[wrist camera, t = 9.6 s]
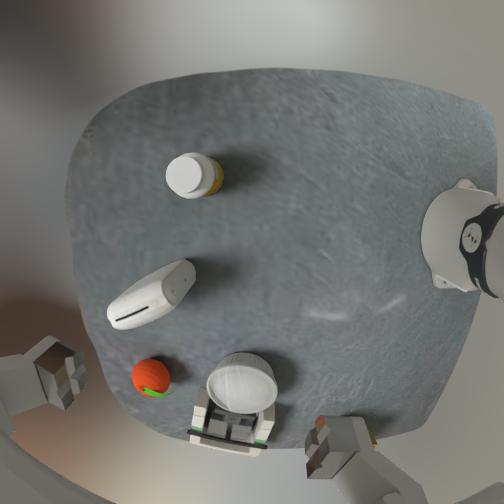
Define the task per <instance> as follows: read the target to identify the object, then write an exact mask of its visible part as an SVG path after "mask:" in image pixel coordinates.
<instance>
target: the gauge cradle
mask: <svg viewBox="0 0 504 504" xmlns="http://www.w3.org/2000/svg"><path fill="white" fill-rule="evenodd" d="M209 399H210V396H209V394H208V392H207V389H205V388H200V391H199V394H198V397H197V400H196V403H195V407H194V414H193V420H192V428H191V431H195V432H199V433H203V434H207V435H211V436H216V437H220V438H225V436H220V435H216V434H211V433H207V432H208V427H206V426H204V424H205V419H206V414H207V409H208V404H209ZM274 423H275V403H273V404H272V405H271V406H270V407H268V408H267V409H265V410H263V411H260V414H259V416H258V419H257V421H256V424H255V426H254V428H253V431H252V433H251V436H250V435H249V436H248V439H247V441H246V440H241V439H235V438H231V439H230V440H235V441H241V442H247V443H253V444H260V445H264V444H265V442H266V440H267V438H268V436H269V434H270V432H271V429H272V427H273V425H274ZM190 443H192V444H195V445H199V446H203V447H207V448H212V449H216V450H221V451H226V452H232V453H237V454H243V455H249V456H256V457H257V456H258V455H259V453H260V451H261V449H259V448H252V447H246V446H240V445H234V444H229V443H224V442H219V441H215V440H210V439H206V438H202V437H198V436H194V435H191V436H190Z"/></svg>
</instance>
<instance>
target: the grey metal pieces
mask: <svg viewBox="0 0 504 504" xmlns="http://www.w3.org/2000/svg"><path fill="white" fill-rule="evenodd" d="M255 418H256V413H251V414H240V413H234V412H231V411H228V410H225V409H223V408H221V407H220V406H218V405H217V404H216V408H215V409H213V410H212V414H211V418H210V422H209V427H208V432H207V433H211V434H216V435H220V436H225V438H220V437H216V436H211V435H207V434H203V433H199V432H195V431H191V430H188V432H187V434H190V435H194V436H198V437H202V438H206V439H210V440H215V441H219V442H224V443H229V444H234V445H240V446H246V447H252V448H259V449H267V445H260V444H253V443H247V442H241V441H235V440H230V439H231V438H235V439H241V440H246V441H247V439H248V436H249V434H250V432H251V429H252V425H253V420H255Z"/></svg>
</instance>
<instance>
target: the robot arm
mask: <svg viewBox="0 0 504 504" xmlns="http://www.w3.org/2000/svg"><path fill="white" fill-rule="evenodd" d="M421 243H422V250H423V254H424V257H425V259H426V261H427V263H428V265H429V267H430V269H431V271H432V279H433V284H434V286H436V287H438V288H458V289H460V290H462V291H464V292H467V291H474V290H481V291H482V292H483V293H485V294H486V295H490V296H492V297H494V298H501V299H502V300H504V204H503V203H501V202H499V198H498V197H496V196H494V194H493V193H491V192H488V191H483V190H479V189H478V188H477V187H476V186H475V185H474V184H473V183H472V182H471V181H470V180H468V179H465V178H462V179H461V180H460V181H459V182H458V183H457V184H456V185H455V186H454V187H453V188H451V189H449V190H446V191H444V192H442V193H441V194H439V195H438V196H437V197H436V198H435V199H434V200H433V202H432V203H431V204H430V206H429V208H428V210H427V212H426V215H425V217H424V221H423V225H422V232H421ZM444 281H445V282H444ZM83 362H84V355H83V353H82V352H80V351H78V350H76V349H74V348H73V347H71V346H69V345H67V344H65V343H63V342H61V341H59V340H58V339H56V338H54V337H52V336H47V337H46V338H44V339H43V340H42V341H41V342H39V343H38V344H37V345H36V346H35V347H33V348H32V349H31V350H29V351H28V352H27V353H26V354H25V355H23V356H22V355H21V354H19V355H13V356H7V357H1V358H0V504H115V503H113V502H111V501H109V500H106V499H104V498H102V497H100V496H98V495H96V494H94V493H92V492H90V491H88V490H86V489H84V488H82V487H81V486H79V485H77V484H75V483H73V482H72V481H70V480H68V479H67V478H65V477H63V476H62V475H60V474H58V473H57V472H55V471H54V470H52V469H51V468H49V467H48V466H46V465H45V464H43V463H42V462H40V461H39V460H37V459H36V458H35V457H33V456H32V455H31V454H29V453H28V452H27V451H25V450H24V449H23V448H21V447H20V446H19V445H18V444H17V443H15V442H14V441H13V440H12V439H10V438H9V437H10V436H11V435H12V434H13V432H14V431H15V430H16V429H15V425H14V423H13V422H12V420H11V418H10V416H13V415H16V414H18V413H21V412H24V411H26V410H29V409H32V408H34V407H37V406H39V405H42V404H44V403H47V401H48V402H50V403H52V404H54V405H55V406H57V407H59V408H61V409H62V410H64V411H66V410H67V409H68V407H69V406H70V405H71V404H72V402H73V401H74V394H78V393H80V392H81V391H82V390H83V388H84V387H85V384H86V381H87V372H86V369H85V368H84V366H83V365H82V363H83ZM315 425H316V427H315V428H313V429H311V430H310V431H309V433H308V435H307V438H306V441H305V454H306V455H307V456H308V457H309V458H310V459H309V461H308V462H307V463H306V468H307V478H308V479H331V481H332V483H333V484H334V485H335V486H336V488H337V489H338V490H339V491H340V493H341V494H342V495H343V496H344V498H345V499H346V500H347V501H348V502H349V504H428V502H427V499H426V497H425V494H424V491H423V488H422V486H421V485H420V484H419V483H417V482H416V481H415V480H414V479H412V478H411V477H410V476H408V475H407V474H406V473H405V472H403V471H402V470H401V469H399V468H398V467H397V466H396V465H395V464H393V463H392V462H391V461H390V460H388V459H387V458H386V457H385V456H384V455H382V454H381V453H380V452H378V451H374V448H373V445H372V442H371V439H370V436H369V433H368V430H367V427H366V424H365V421H364V419H363V418H362V417H347V416H325V415H320V416H319V417H318V418H317V420H316V421H315ZM455 504H504V483H503V482H497V483H495V484H493V485H491V486H489V487H487V488H485V489H483V490H482V491H480V492H478V493H476V494H474V495H472V496H470V497H468V498H466V499H464V500H462V501H460V502H457V503H455Z"/></svg>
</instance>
